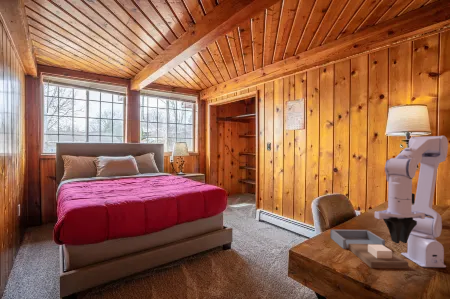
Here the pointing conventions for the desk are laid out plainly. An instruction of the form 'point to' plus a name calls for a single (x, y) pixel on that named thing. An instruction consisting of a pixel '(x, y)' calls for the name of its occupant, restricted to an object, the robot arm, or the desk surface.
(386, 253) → the tile
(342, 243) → the box
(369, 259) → the platform
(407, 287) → the desk surface
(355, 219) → the desk surface
